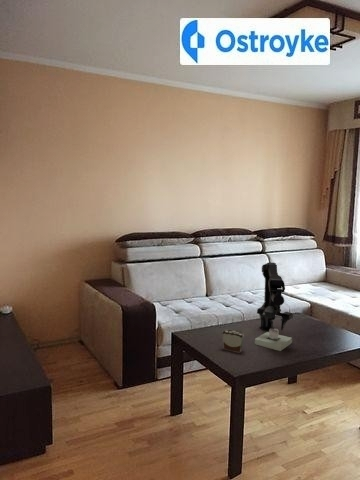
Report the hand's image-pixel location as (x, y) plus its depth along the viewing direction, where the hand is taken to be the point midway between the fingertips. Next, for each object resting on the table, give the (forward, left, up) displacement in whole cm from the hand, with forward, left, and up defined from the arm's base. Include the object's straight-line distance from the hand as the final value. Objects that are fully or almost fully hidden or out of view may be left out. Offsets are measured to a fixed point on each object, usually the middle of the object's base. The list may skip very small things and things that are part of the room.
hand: (274, 328), depth 217 cm
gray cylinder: (0, 0, -9) cm, 9 cm away
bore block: (0, 0, -9) cm, 9 cm away
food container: (-12, -21, -9) cm, 26 cm away
